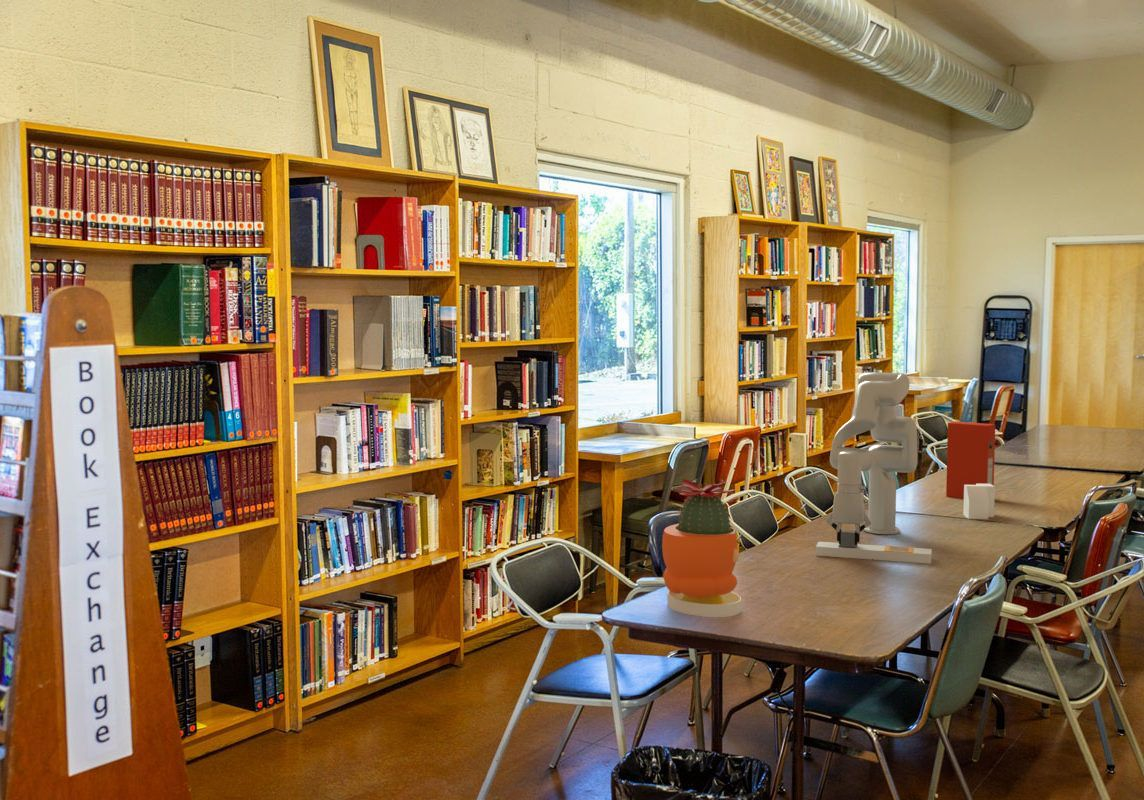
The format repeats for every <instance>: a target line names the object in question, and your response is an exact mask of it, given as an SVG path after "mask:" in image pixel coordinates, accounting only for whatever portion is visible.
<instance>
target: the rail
mask: <svg viewBox="0 0 1144 800" xmlns="http://www.w3.org/2000/svg"><path fill="white" fill-rule="evenodd" d="M932 550H933V548H923V547H919V548H918V547H913V546H901V545H899V546H898V545H877V544H876V545H875V544H862V543H861V544H859V543H857V545H856V548H841V544H839V542H831V541H830V542H829V541H817V544H816V546H815V556H818V557H829V558H830V557H833V558H843V559H844V558H845V559H859V560H872V559H873V560H875V561H876V560H877V561H888V562H901V563H917V564H918V563H919V564H928V565H929V564H930V565H931V564H932V558H933V556H932V555H933V554H932V552H933V551H932Z"/></svg>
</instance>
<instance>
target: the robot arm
mask: <svg viewBox="0 0 1144 800" xmlns="http://www.w3.org/2000/svg"><path fill="white" fill-rule="evenodd" d="M857 384H858V386H857V389H856V393H855V397H854V398H855V399H854V402H853V407H852V412H851V417H850V419H849V420H848V421H847V422H846V423H845V424H843V425H842V426H841V427H840V428H839V429H838V430H837V432H836V433H835V434H834V437H833V439H832V443H831V448H830V453H829V455H830V456H829V463H830V466H831V467H832V468H833V469H836V470H837V485H836V486H837V489H836V490H837V491H835V493H834V497H833V504H832V513H831V514H830V515H829V516H828V518H826V523H827V524H828V525H830V526H831V527H832V528H833V529H834V530H835V532H836V541H837V542H838V543H839V544H841V531H842V525H843V524H848V525H854V526H855V530H856V532H855V545H857V544H859V543H860V542H861V541H860V540H861V539H860V535H861V532H862V531H864V532H866V533H869V534H875V535H895V534H899V533H900V531H901V529H900V528H899V527H897V526H896V514H897V512H896V510H897V509H896V508H897V482H896V480H895V478H894V477H893V475H892V474H891V473H908V474H909V473H913V472H915V471H916V469H917V467H918V429H917V423H916V421H915V420H914V419H913V418H912V417H909V416H901V415H900V416H899V415H898V416H897V415H896V413H895V407H896V406H898V405H899V404H900V403H901V402H902V401H903V400H904V399H905V398H906V397H907V395H908V392H909V391H910V379H909V377H908V375H907V374H905V373H901V372H884V371H883V372H881V371H880V372H879V371H878V372H877V371H876V372H875V371H872V372H871V371H870V372H869V371H868V372H863V373H861V374H860V375H858V379H857ZM868 431H870V435H871V438H872V440H874V441H876V442H880V443H891V444H874V445H872V446H870V447H869V448H868V449H867V448H859V447H858V448H857V447H846V446H845V447H843V446H844V444H845V443H846V442H847V441H848V440H849V439H851V438H853V437H855V436H857V435H859V434H863V433H865V432H866V433H867V432H868ZM892 443H894V444H901V445H894V444H892ZM862 472H868V511H867V513H868V515H867V514H866V503H865V502H866V501H865V496H864V493H863V491H866V489H867V488H866V486H865V485H863V484H862ZM864 522H865V523H864Z"/></svg>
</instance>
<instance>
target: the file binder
mask: <svg viewBox="0 0 1144 800" xmlns="http://www.w3.org/2000/svg"><path fill="white" fill-rule="evenodd" d="M946 438H947V439H946V440H947V442H946V443H947V444H946V485H945V487H946V488H945V489H946V490H945V491H946V492H945V493H946V494H945V497H946V498H952V499H961V500H964V485H976V484H991V485H993V486H995V453H996V452H995V450H996V447H995V446H996V424H995V423H984V422H983V423H982V422H981V423H980V422H969V421H968V422H967V421H951V422H948V423H947V437H946Z"/></svg>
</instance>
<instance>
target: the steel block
mask: <svg viewBox="0 0 1144 800" xmlns="http://www.w3.org/2000/svg"><path fill="white" fill-rule="evenodd" d="M855 532H856V529H842V528H841V548H856V545H855Z"/></svg>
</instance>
